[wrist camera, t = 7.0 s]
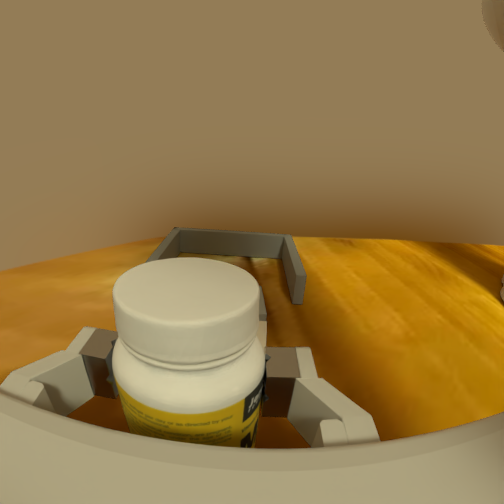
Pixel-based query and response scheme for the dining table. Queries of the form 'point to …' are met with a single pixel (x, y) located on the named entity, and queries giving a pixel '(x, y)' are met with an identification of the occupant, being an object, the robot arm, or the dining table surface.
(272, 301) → the dining table surface
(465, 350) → the dining table surface
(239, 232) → the grey u-shaped frame
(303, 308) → the dining table surface
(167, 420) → the supplement bottle
